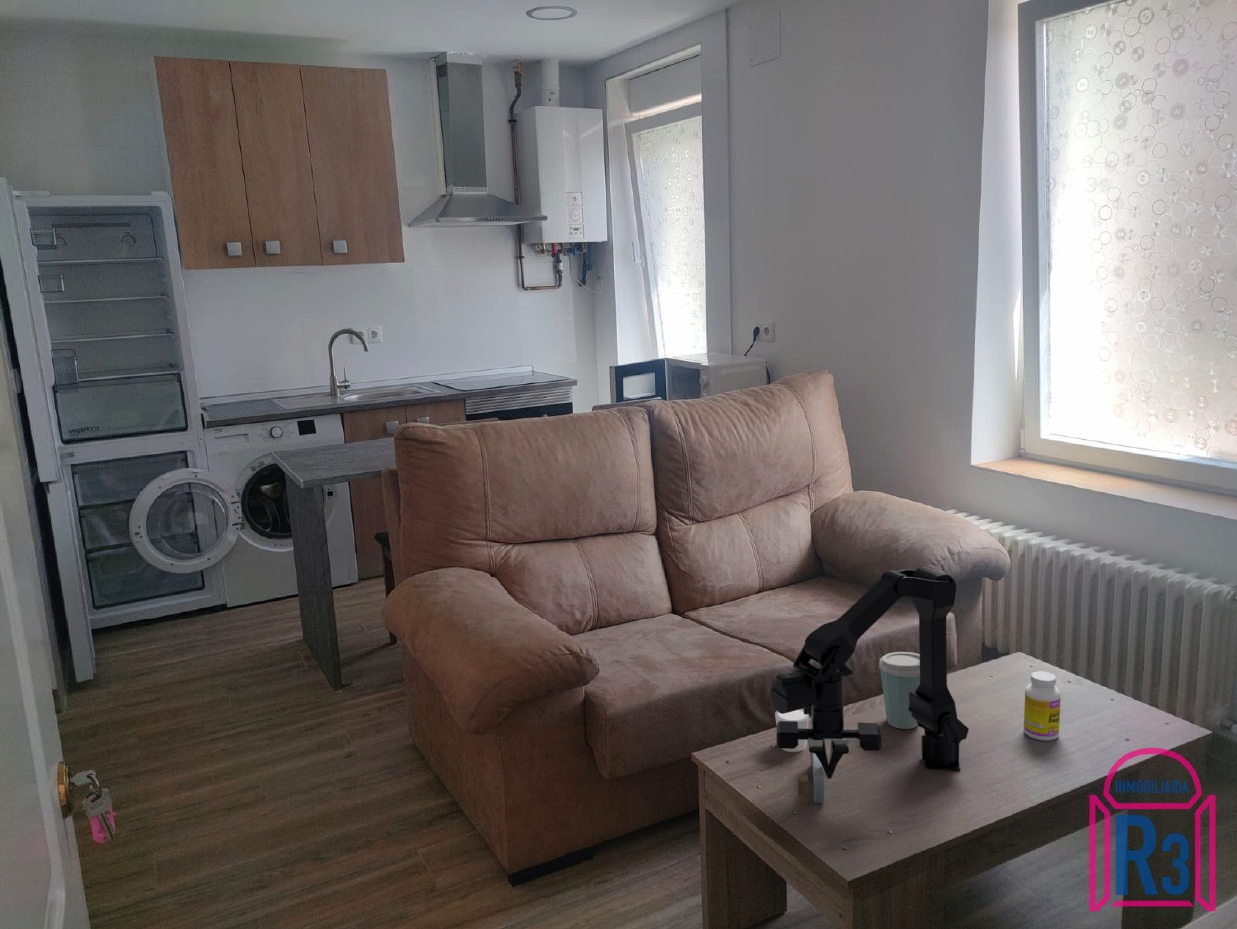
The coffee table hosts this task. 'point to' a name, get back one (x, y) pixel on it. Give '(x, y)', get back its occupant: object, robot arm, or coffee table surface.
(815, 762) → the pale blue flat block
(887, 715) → the disposable coffee cup
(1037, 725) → the supplement bottle
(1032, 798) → the coffee table surface
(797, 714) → the white cup
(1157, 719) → the coffee table surface
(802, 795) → the brown rectangular block
